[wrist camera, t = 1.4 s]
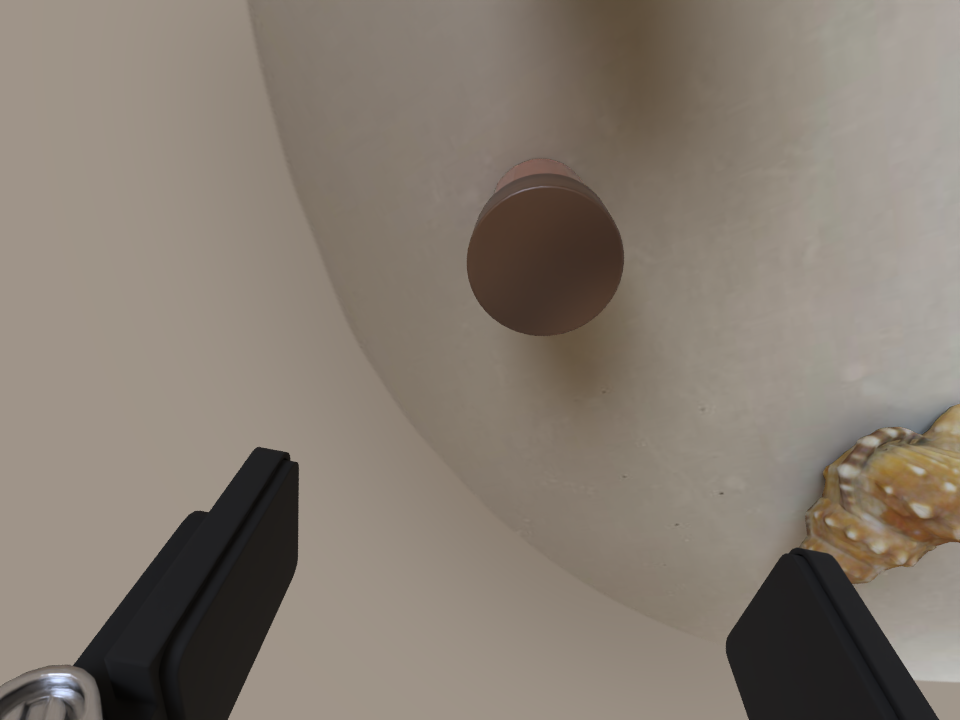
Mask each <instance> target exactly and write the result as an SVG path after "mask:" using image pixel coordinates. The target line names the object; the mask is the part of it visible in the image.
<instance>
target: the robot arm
mask: <svg viewBox="0 0 960 720" xmlns="http://www.w3.org/2000/svg"><path fill="white" fill-rule="evenodd" d="M298 482H299V465H298V463H297V462H293V461H290V455H289V453H287V452H283V451H277V450H271V449H267V448H261V447H257V448H256V449H254V451H253V452H252V453H251V454H250V456H249V457H248V459H247V460H246V461H245V463H244V464H243V466H242V467H241V468H240V470H239V471H238V473H237V474H236V475H235V477H234V478H233V480H232V481H231V482H230V484H229V485H228V487H227V488H226V489H225V491H224V492H223V493H222V495H221V496H220V498H219V499H218V500H217V502H216V503H215V505H214V506H213V508H212V509H211V510H210V511H209V512H204V511H194V512H193V513H191V514H190V515H188V517H187V518H186V519H185V520H184V521H183V522H182V523H181V525H180V526H179V527H178V529H177V530H176V531H175V532H174V534H173V535H172V537H171V538H170V539H169V540H168V542H167V543H166V544H165V546H164V547H163V548H162V550H161V551H160V552H159V553H158V555H157V556H156V558H155V559H154V560H153V561H152V563H151V564H150V565H149V567H148V568H147V569H146V571H145V572H144V573H143V575H142V576H141V577H140V578H139V580H138V581H137V583H136V584H135V585H134V586H133V588H132V589H131V590H130V592H129V593H128V594H127V595H126V597H125V598H124V600H123V601H122V602H121V603H120V605H119V606H118V607H117V609H116V610H115V612H114V613H113V614H112V615H111V616H110V618H109V619H108V620H107V622H106V623H105V625H104V626H103V627H102V628H101V630H100V631H99V632H98V634H97V635H96V636H95V637H94V639H93V640H92V642H91V643H90V644H89V645H88V647H87V648H86V649H85V651H84V652H83V653H82V655H81V656H80V658H78V660H77V661H76V663H75V664H74V665H73V666H71V665H52V666H46V667H42V668H39V669H36V670H32V671H29V672H26V673H24V674H22V675H20V676H18V677H16V678H14V679H12V680H10V681H8V682H6V683H4V684H3V685H2V686H0V720H228V718H229V715H230V713H231V711H232V709H233V707H234V705H235V702H236V700H237V698H238V696H239V694H240V692H241V689H242V687H243V685H244V683H245V681H246V678H247V676H248V674H249V672H250V669H251V668H252V665H253V663H254V661H255V659H256V657H257V654H258V652H259V650H260V648H261V646H262V643H263V641H264V639H265V637H266V635H267V633H268V630H269V628H270V626H271V624H272V622H273V620H274V617H275V615H276V613H277V611H278V608H279V607H280V604H281V602H282V600H283V598H284V596H285V593H286V591H287V589H288V587H289V584H290V583H291V580H292V578H293V576H294V573H295V570H296V566H297V561H298V490H299V487H298V486H299V483H298ZM726 654H727V658H728V661H729V664H730V666H731V669H732V672H733V675H734V678H735V681H736V684H737V687H738V689H739V692H740V695H741V698H742V701H743V704H744V707H745V710H746V712H747V715H748V718H749V720H939V719H938V717H937V716H936V714H935V713H934V711H933V709H932V708H931V706H930V705H929V703H928V702H927V700H926V699H925V697H924V695H923V694H922V692H921V691H920V689H919V688H918V686H917V685H916V683H915V681H914V680H913V678H912V677H911V675H910V674H909V672H908V671H907V669H906V667H905V666H904V664H903V663H902V661H901V660H900V658H899V657H898V655H897V653H896V652H895V650H894V649H893V647H892V646H891V644H890V643H889V641H888V639H887V638H886V636H885V635H884V633H883V632H882V630H881V628H880V627H879V625H878V624H877V622H876V621H875V619H874V618H873V616H872V614H871V613H870V611H869V610H868V608H867V607H866V605H865V604H864V602H863V600H862V599H861V597H860V596H859V594H858V593H857V591H856V590H855V588H854V586H853V585H852V583H851V582H850V580H849V579H848V577H847V576H846V574H845V572H844V571H843V569H842V568H841V566H840V565H839V563H838V561H837V560H836V559H835V558H834V557H833V556H832V555H830V554H829V553H824V552H819V551H814V550H808V549H803V548H794V549H792V550H791V551H790V552H789V553H788V554H784V555H782V556H781V558H780V559H779V561H778V562H777V564H776V565H775V566H774V568H773V569H772V571H771V572H770V574H769V575H768V577H767V578H766V580H765V581H764V583H763V584H762V586H761V587H760V589H759V590H758V592H757V593H756V595H755V596H754V598H753V599H752V601H751V602H750V604H749V605H748V607H747V608H746V610H745V611H744V613H743V614H742V616H741V617H740V619H739V620H738V622H737V623H736V625H735V626H734V628H733V629H732V631H731V632H730V634H729V635H728V637H727V641H726Z"/></svg>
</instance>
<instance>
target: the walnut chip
mask: <svg viewBox="0 0 960 720" xmlns="http://www.w3.org/2000/svg"><path fill="white" fill-rule="evenodd" d="M623 265H624V250H623V244H622V239H621V236H620V233H619V230H618V228H617V226H616V224H615V222H614V220H613V219H612V217H611V215H610V214H609V212H608V210H607V209H606V207H605V206H604V204H603V203H602V201H601V200H600V198H599V197H598V196H597V195H596V194H595V193H594V192H593V191H592V190H591V189H589V188H588V187H587V186H586V185H584V184H582V183H581V182H579V181H577V180H575V179H573V178H570V177H567V176H564V175H560V174H552V173H539V174H532V175H528V176H524V177H521V178H519V179H516V180H514V181H512V182H510V183H509V184H507V185H505V186H504V187H502V188H501V189H500V190H499V191H497V192H496V193H495V194H494V195H493V196H492V197H491V198H490V199H489V201H488V202H487V203H486V205H485V206H484V208H483V210H482V211H481V213H480V215H479V217H478V220H477V222H476V225H475V228H474V231H473V234H472V237H471V240H470V243H469V247H468V253H467V272H468V278H469V282H470V285H471V288H472V291H473V293H474V295H475V297H476V299H477V300H478V302H479V303H480V305H481V306H482V307H483V309H484V310H485V311H486V312H487V313H488V314H489V315H490V316H491V317H492V318H493V319H495V320H496V321H497V322H499V323H500V324H502V325H504V326H506V327H507V328H509V329H512V330H514V331H517V332H520V333H524V334H528V335H535V336H550V335H557V334H562V333H566V332H569V331H572V330H575V329H577V328H579V327H581V326H583V325H584V324H586V323H588V322H589V321H591V320H592V319H593V318H594V317H596V316H597V315H598V314H599V313H600V312H601V311H602V310H603V309H604V308H605V307H606V306H607V304H608V303H609V302H610V300H611V299H612V297H613V295H614V294H615V292H616V290H617V288H618V285H619V283H620V280H621V276H622V272H623Z"/></svg>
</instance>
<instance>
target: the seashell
mask: <svg viewBox="0 0 960 720" xmlns="http://www.w3.org/2000/svg"><path fill="white" fill-rule="evenodd" d="M823 476H824V478H825V480H826V482H825V488H824V492H823V494H822V496H823V497H822V498H819V500H818V501H817V502H816V503H815V504H814V505H813V506H812V507H811V508H810V509H809V510H808V511H807V512H806V515H805V521H806V527H807V537H806V539H805V540H804V541H803V542H802V543H801V545H800V548H803V549H808V550H814V551H819V552H824V553H829V554H830V555H832V556H833V557H834V558H835V559H836V560H837V561H838V563H839V565H840V566H841V568H842V569H843V571H844V572H845V574H846V576H847V577H848V579H849V580H850V582H851V583H852V584H859V583H868V582H871V581H872V580H873V579H874V578H875V577H876V576H877V575H878V574H879V573H880V572H881V571H882V570H887V569H890V568H894V567H899V566H905V567H913V566H914V565H915V564H916V563H917V562H918V561H919V560H920V559H921V557H922V556H923V555H924V554H926V553H927V552H928V551H931V550H934V549H935V548H936V546H938V545H941V544H944V543H948V542H959V543H960V404H958V405H955V406H952V407H950V408H949V409H948V410H947V411H946V412H945V413H944V414H942V415H941V416H940V417H939V418H938V419H937V420H936V421H935V422H934V424H933V425H932V427H931V428H930V430H928V431H927V432H925V433H924V434H922V435H921V434H918V433H915V432H913V431H911V430H909V429H906V428H902V427H888V428H880V429H878V430H876V431H875V432H874V433H872V434H870V435H867V436H865V437H862V438H860V439H859V440H858V441H857V443H856V444H855V446H853V447H852V448H850V449H849V450H848V451H846V452H845V453H844V454H843V455H842V456H841V457H840V458H838V459H837V460H836V461H835V462H834V463H832V464H831V465H829V466H826V468H825V469H824V471H823Z"/></svg>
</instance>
